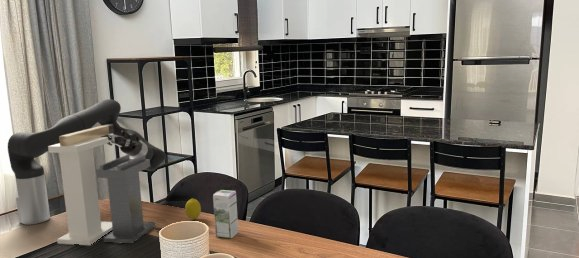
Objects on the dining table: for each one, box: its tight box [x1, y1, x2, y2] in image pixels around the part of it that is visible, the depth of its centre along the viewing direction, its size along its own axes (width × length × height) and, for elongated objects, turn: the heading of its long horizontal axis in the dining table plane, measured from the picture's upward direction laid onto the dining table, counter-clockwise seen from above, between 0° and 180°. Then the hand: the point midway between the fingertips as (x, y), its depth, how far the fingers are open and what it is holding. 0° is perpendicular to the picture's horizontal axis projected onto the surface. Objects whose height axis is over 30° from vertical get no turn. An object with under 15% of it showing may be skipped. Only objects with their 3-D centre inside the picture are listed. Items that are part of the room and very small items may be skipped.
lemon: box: [184, 198, 202, 221], centre depth 156 cm, size 6×6×8 cm
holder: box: [95, 154, 157, 243], centre depth 143 cm, size 10×15×26 cm, turn 169°
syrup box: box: [212, 189, 239, 239], centre depth 141 cm, size 6×6×14 cm
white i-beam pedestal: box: [48, 137, 113, 246], centre depth 144 cm, size 12×16×32 cm
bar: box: [59, 125, 114, 146], centre depth 146 cm, size 3×24×3 cm, turn 169°
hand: (111, 133), depth 158 cm, fingers open, 8 cm apart
